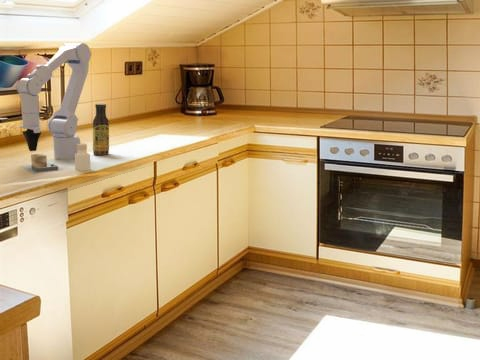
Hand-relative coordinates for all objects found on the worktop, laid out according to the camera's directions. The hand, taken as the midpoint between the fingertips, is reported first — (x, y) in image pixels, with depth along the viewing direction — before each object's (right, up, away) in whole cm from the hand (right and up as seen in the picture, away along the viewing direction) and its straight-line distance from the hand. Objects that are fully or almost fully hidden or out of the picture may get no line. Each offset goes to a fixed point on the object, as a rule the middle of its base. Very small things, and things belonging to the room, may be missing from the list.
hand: (32, 150), depth 223 cm
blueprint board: (+5, -7, -6) cm, 11 cm away
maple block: (+4, -6, -4) cm, 8 cm away
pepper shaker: (+20, -8, -8) cm, 23 cm away
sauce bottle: (+19, 0, +24) cm, 31 cm away
